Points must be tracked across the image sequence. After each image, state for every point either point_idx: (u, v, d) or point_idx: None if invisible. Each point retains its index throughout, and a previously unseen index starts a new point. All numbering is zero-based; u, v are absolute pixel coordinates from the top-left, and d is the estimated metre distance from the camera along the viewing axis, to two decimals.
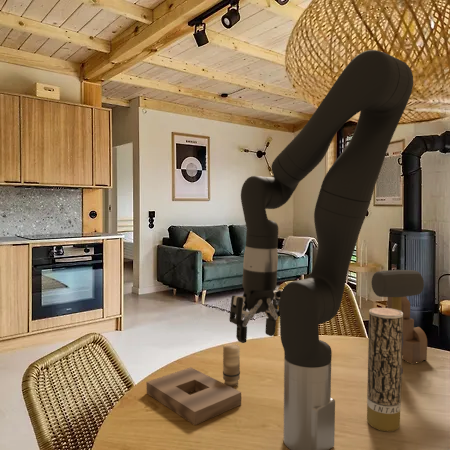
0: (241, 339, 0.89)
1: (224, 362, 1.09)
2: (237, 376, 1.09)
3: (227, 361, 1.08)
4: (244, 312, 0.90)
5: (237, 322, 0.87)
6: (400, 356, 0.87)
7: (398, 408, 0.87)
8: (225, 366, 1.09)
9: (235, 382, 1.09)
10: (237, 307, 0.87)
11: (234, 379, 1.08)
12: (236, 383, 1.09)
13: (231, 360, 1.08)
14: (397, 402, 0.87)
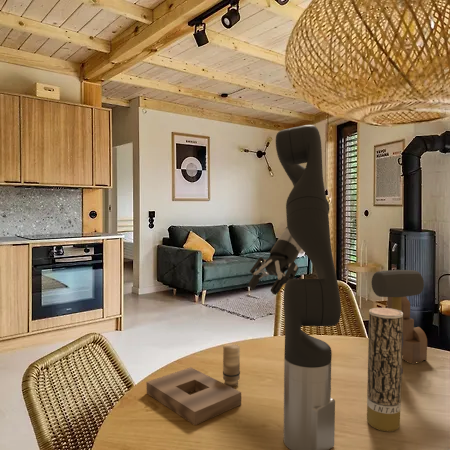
0: (249, 283, 1.21)
1: (224, 362, 1.09)
2: (237, 376, 1.09)
3: (227, 361, 1.08)
4: None
5: (251, 270, 1.24)
6: (400, 356, 0.87)
7: (398, 408, 0.87)
8: (225, 366, 1.09)
9: (235, 382, 1.09)
10: None
11: (234, 379, 1.08)
12: (236, 383, 1.09)
13: (231, 360, 1.08)
14: (397, 402, 0.87)
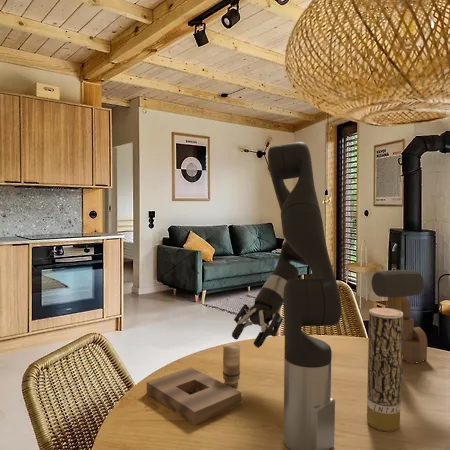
0: (232, 333, 1.17)
1: (224, 362, 1.09)
2: (237, 376, 1.09)
3: (227, 361, 1.08)
4: None
5: (235, 318, 1.20)
6: (400, 356, 0.87)
7: (398, 408, 0.87)
8: (225, 366, 1.09)
9: (235, 382, 1.09)
10: None
11: (234, 379, 1.08)
12: (236, 383, 1.09)
13: (231, 359, 1.08)
14: (397, 402, 0.87)
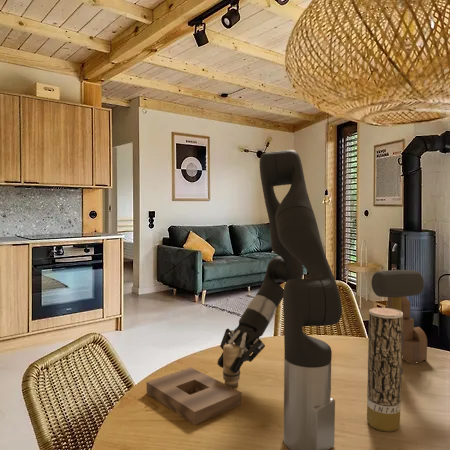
0: (218, 361, 1.11)
1: (224, 362, 1.09)
2: (237, 376, 1.09)
3: (227, 361, 1.08)
4: None
5: (220, 345, 1.14)
6: (400, 356, 0.87)
7: (398, 408, 0.87)
8: (225, 366, 1.09)
9: (235, 382, 1.09)
10: None
11: (234, 379, 1.08)
12: (236, 383, 1.09)
13: (231, 360, 1.08)
14: (397, 402, 0.87)
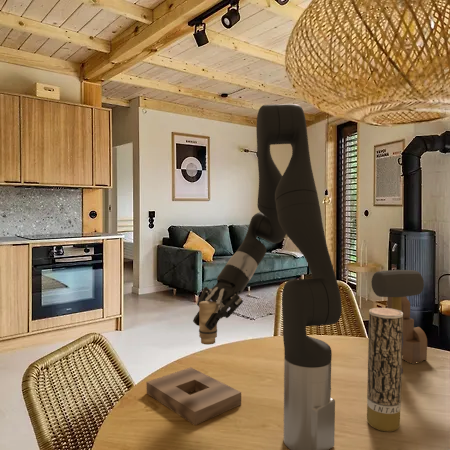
0: None
1: (200, 319, 1.03)
2: (214, 333, 1.02)
3: (203, 317, 1.02)
4: None
5: (197, 303, 1.08)
6: (400, 356, 0.87)
7: (398, 408, 0.87)
8: (201, 323, 1.02)
9: (212, 340, 1.03)
10: None
11: (210, 336, 1.02)
12: (213, 341, 1.03)
13: (207, 315, 1.02)
14: (397, 402, 0.87)
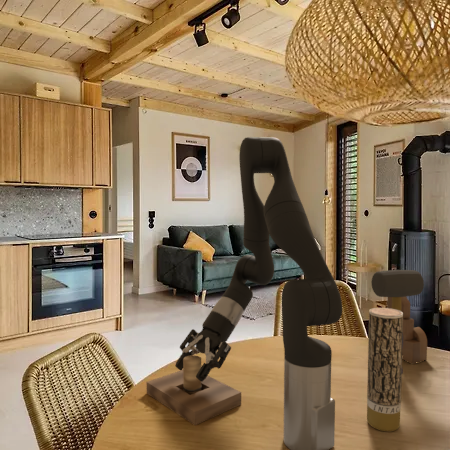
0: (176, 363, 1.04)
1: (184, 375, 1.01)
2: (198, 391, 1.00)
3: (187, 374, 1.00)
4: None
5: (180, 345, 1.07)
6: (400, 356, 0.87)
7: (398, 408, 0.87)
8: (185, 380, 1.00)
9: None
10: None
11: None
12: None
13: (191, 373, 0.99)
14: (397, 402, 0.87)
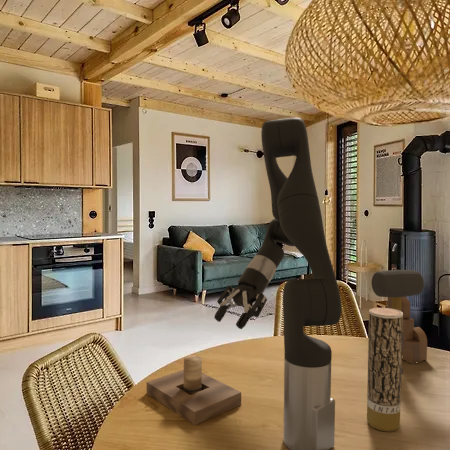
0: (215, 315, 1.12)
1: (184, 375, 1.01)
2: (198, 391, 1.00)
3: (187, 374, 1.00)
4: None
5: (218, 300, 1.15)
6: (400, 356, 0.87)
7: (398, 408, 0.87)
8: (185, 380, 1.00)
9: None
10: None
11: None
12: None
13: (191, 373, 0.99)
14: (397, 402, 0.87)
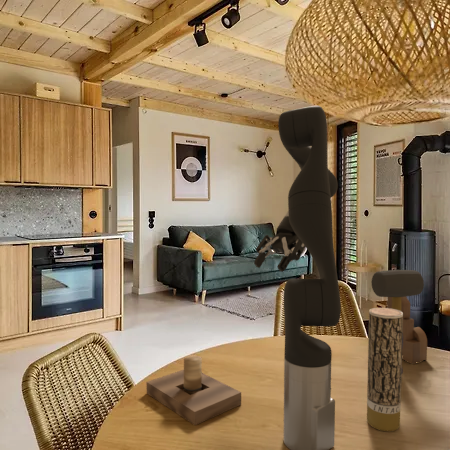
0: (255, 261, 1.16)
1: (184, 375, 1.01)
2: (198, 390, 1.00)
3: (187, 374, 1.00)
4: None
5: (256, 248, 1.19)
6: (400, 356, 0.87)
7: (398, 408, 0.87)
8: (185, 380, 1.00)
9: None
10: None
11: None
12: None
13: (191, 373, 0.99)
14: (397, 402, 0.87)
